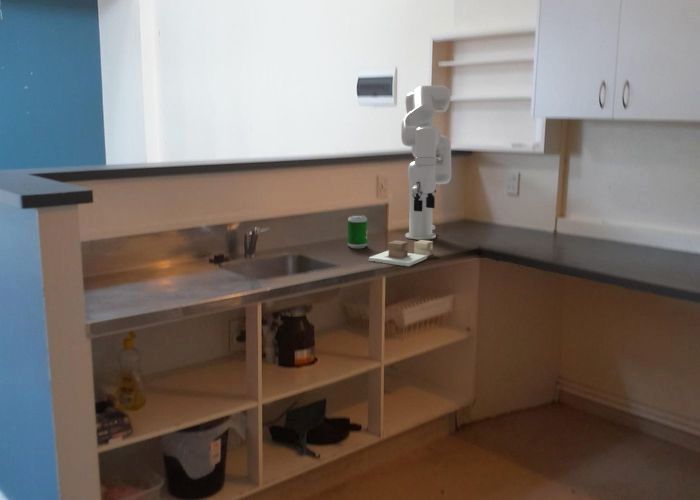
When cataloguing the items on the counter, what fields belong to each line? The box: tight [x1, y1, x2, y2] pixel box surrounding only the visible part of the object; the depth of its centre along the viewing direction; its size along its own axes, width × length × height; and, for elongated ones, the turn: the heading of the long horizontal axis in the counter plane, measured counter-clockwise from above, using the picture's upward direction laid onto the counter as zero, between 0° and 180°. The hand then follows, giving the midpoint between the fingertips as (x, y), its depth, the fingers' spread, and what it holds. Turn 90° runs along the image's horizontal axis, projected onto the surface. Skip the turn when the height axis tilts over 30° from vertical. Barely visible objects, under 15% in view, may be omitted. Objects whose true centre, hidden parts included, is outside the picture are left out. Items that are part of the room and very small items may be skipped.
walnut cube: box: [388, 239, 409, 258], centre depth 253 cm, size 5×5×5 cm
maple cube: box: [413, 240, 434, 258], centre depth 261 cm, size 5×5×5 cm
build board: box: [368, 249, 428, 267], centre depth 254 cm, size 14×16×1 cm
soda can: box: [347, 214, 368, 249], centre depth 275 cm, size 8×8×12 cm
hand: (424, 209), depth 258 cm, fingers open, 9 cm apart
